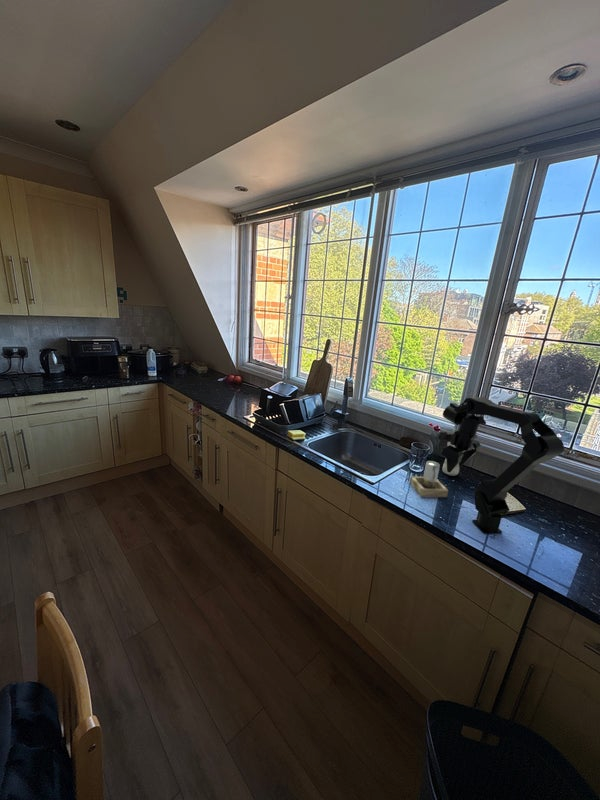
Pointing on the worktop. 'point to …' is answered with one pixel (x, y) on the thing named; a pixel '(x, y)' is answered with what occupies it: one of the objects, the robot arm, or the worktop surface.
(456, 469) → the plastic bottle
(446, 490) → the square wooden tray
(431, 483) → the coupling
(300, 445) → the worktop surface
